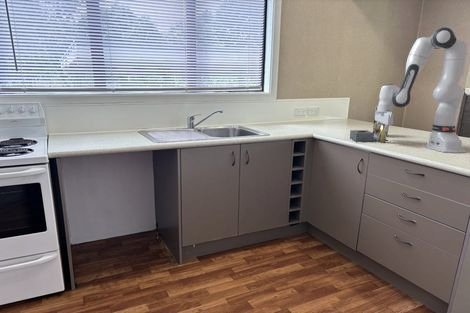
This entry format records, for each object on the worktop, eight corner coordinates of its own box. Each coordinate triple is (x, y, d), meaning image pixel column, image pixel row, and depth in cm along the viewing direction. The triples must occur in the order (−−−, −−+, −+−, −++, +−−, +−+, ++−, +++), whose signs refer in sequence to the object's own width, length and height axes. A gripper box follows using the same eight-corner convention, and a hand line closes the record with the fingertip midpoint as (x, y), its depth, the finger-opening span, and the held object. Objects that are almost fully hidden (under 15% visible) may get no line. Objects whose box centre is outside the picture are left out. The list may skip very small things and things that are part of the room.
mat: (387, 140, 232) (387, 139, 232) (373, 141, 232) (373, 139, 232) (379, 137, 244) (380, 136, 244) (366, 137, 244) (366, 136, 243)
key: (386, 143, 225) (388, 125, 222) (380, 143, 225) (382, 125, 222) (383, 141, 229) (385, 124, 226) (377, 141, 229) (379, 124, 226)
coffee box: (372, 135, 254) (374, 113, 250) (378, 134, 256) (381, 113, 252) (381, 137, 245) (383, 115, 241) (387, 136, 248) (390, 114, 244)
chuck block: (373, 141, 229) (374, 133, 228) (355, 141, 229) (356, 133, 227) (366, 138, 241) (367, 130, 239) (349, 138, 241) (350, 130, 239)
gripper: (397, 111, 212) (394, 132, 215) (383, 107, 232) (380, 127, 235) (387, 111, 212) (384, 132, 215) (374, 107, 231) (371, 127, 235)
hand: (382, 129), depth 225 cm, fingers open, 8 cm apart
